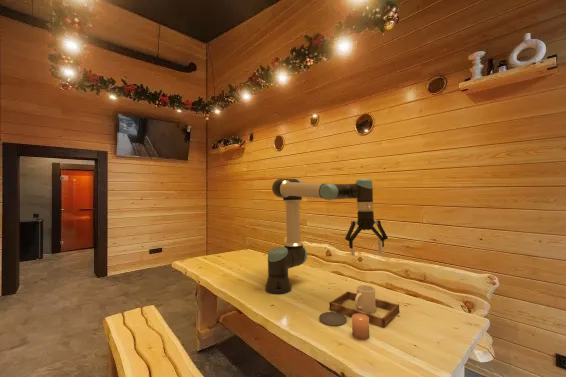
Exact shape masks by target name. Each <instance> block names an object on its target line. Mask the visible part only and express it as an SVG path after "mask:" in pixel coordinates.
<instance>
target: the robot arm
mask: <svg viewBox="0 0 566 377" xmlns="http://www.w3.org/2000/svg"><path fill="white" fill-rule="evenodd" d="M373 190H374V187H373V180H372V179H370V178H358V179H356V182H355V183H322V182H321V183H320V182H317V183H316V182H303V181H302V180H301V179H299V178H285V177H283V178H277V179H276V180H275V181H274V182H272V185H271V191H272V193H273V195H274V196H275V197H277V198H282V200H283V202H284V203H285V219H286V220H285V222H286V223H285V224H286V225H285V226H286V229H285V230H286V242H284V246H278V247H273V248H271V249H269V250H268V252H267V273H268V274H267V279H266V283H265V289H264V290H265V291H266V293H268V292H269V293H268V294H271V293H272V294H273V295H282V294H283V295H284V294H287V293H290V292H291V291H292V283H291V281H290V278H289V269H291V268H294V267H299V266H301V265H304V263H305V262H306V261H307V259H308V252H307V249H306V247H305V246H304V244H303V243H304V242H302V241H301V240H302V239H301V217H300V216H301V211H300V208H301V207H300V204H301V202H302V201H303V198H313V199H322V200H323V199H324V200H328V201H333V200H342V199H343V200H345V199H348V200H349V199H350V200H351V199H356V207H357V208H356V210H357V220H351V221H350V227H349V229H348V231H347V233H346V236H345V238H344V240H345V241H348V244H349V245H348V246H349V249H350V252H351V256H353V257H354V256H355V255H356V254H355V253H356V251H355V241H354V240H355V239H356V238H357V236H358V235H359V233H360V232H361V231H370V230H371V232H373V234H375V236H376V237H377V239H378V240H377V242H378V244H377V246H378V248H377V249H378V254H379V255H380V256H381V255H383V248H384V246H385V241H386V240H388V235H387V233H386V231H385V230H384V227H383V226H382V222H381V220H378V219H376V220H374V219H375V216H374V193H373V192H374V191H373ZM374 225H376V226H377V228H378V230H379V231H378V230H377V229H376V227H375V226H374ZM356 226H357V227H356ZM355 227H356V229H355ZM354 229H355V231H354ZM379 232H380V233H379Z"/></svg>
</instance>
